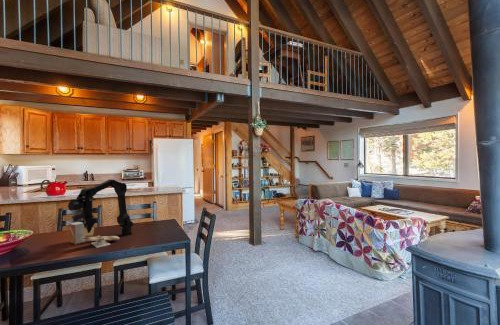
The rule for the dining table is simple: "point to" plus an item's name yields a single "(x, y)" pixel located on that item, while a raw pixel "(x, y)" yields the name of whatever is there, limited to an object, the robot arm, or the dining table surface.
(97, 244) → the pivot stand
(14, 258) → the dining table surface
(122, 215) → the robot arm
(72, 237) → the small box
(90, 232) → the wooden block
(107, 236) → the beam
